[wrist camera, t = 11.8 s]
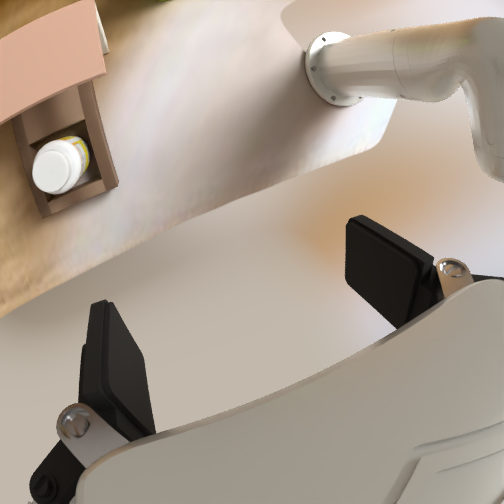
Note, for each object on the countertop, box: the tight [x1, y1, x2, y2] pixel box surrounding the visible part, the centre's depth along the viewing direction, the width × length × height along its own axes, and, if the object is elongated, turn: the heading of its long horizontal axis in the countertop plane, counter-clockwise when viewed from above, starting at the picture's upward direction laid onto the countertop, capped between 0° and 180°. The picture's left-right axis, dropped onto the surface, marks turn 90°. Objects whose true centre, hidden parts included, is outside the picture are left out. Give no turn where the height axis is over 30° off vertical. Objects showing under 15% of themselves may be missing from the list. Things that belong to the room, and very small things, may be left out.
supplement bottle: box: [32, 136, 91, 194], centre depth 25 cm, size 6×6×10 cm
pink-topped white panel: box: [0, 0, 109, 125], centre depth 18 cm, size 16×8×14 cm, turn 100°
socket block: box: [11, 80, 119, 218], centre depth 27 cm, size 11×14×3 cm
